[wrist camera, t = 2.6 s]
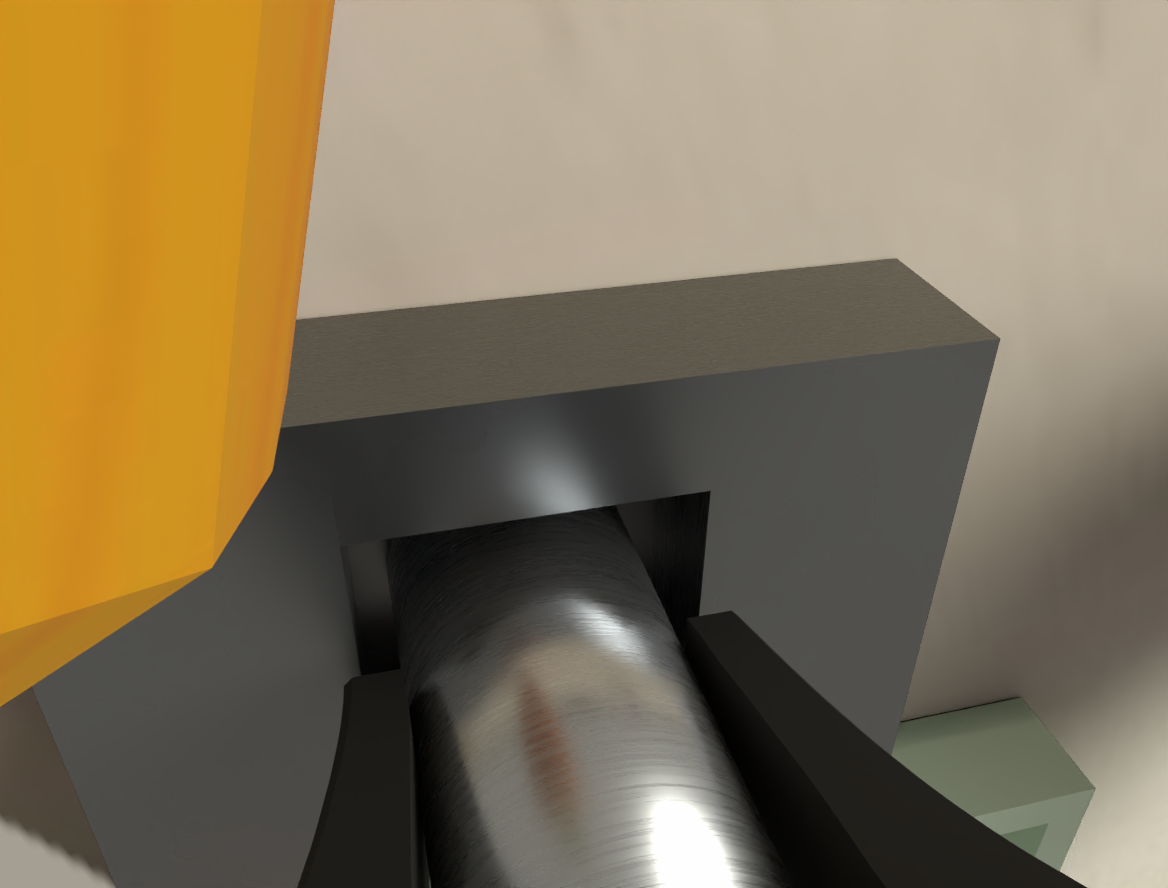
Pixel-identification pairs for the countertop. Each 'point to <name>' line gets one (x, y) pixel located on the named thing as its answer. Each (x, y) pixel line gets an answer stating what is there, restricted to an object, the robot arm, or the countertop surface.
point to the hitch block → (530, 489)
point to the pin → (562, 717)
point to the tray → (1001, 773)
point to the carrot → (142, 296)
